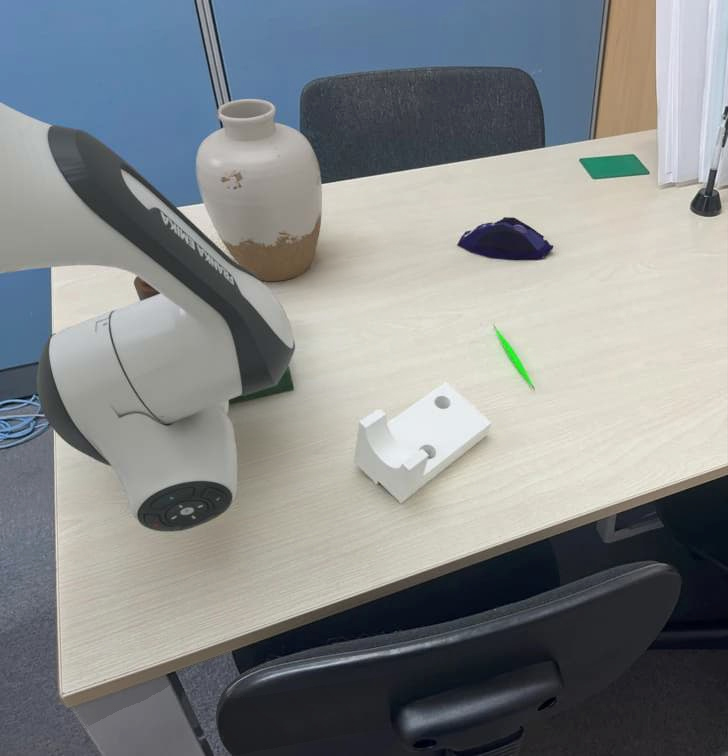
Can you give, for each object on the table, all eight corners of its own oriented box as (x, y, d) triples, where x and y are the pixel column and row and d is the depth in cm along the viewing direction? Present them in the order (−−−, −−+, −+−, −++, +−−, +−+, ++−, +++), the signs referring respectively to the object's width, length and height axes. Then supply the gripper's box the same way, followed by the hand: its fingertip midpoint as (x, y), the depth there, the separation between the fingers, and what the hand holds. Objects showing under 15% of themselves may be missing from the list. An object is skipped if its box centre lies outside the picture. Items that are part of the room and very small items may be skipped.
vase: (212, 249, 107) (170, 95, 92) (315, 228, 112) (292, 80, 97) (234, 305, 96) (190, 142, 81) (347, 278, 102) (326, 121, 87)
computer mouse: (470, 222, 115) (470, 200, 113) (559, 238, 113) (562, 215, 110) (452, 251, 109) (451, 227, 106) (546, 268, 106) (548, 244, 103)
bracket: (399, 508, 73) (409, 470, 67) (354, 462, 75) (359, 421, 69) (484, 440, 80) (499, 401, 74) (441, 400, 82) (452, 359, 76)
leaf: (531, 393, 85) (531, 388, 84) (489, 326, 94) (489, 321, 94) (538, 391, 85) (539, 386, 84) (495, 325, 95) (495, 320, 94)
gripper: (281, 336, 68) (261, 262, 77) (42, 385, 62) (52, 299, 71) (292, 385, 72) (272, 309, 82) (69, 436, 66) (75, 348, 75)
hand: (167, 305), depth 76 cm, fingers closed on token, 4 cm apart
